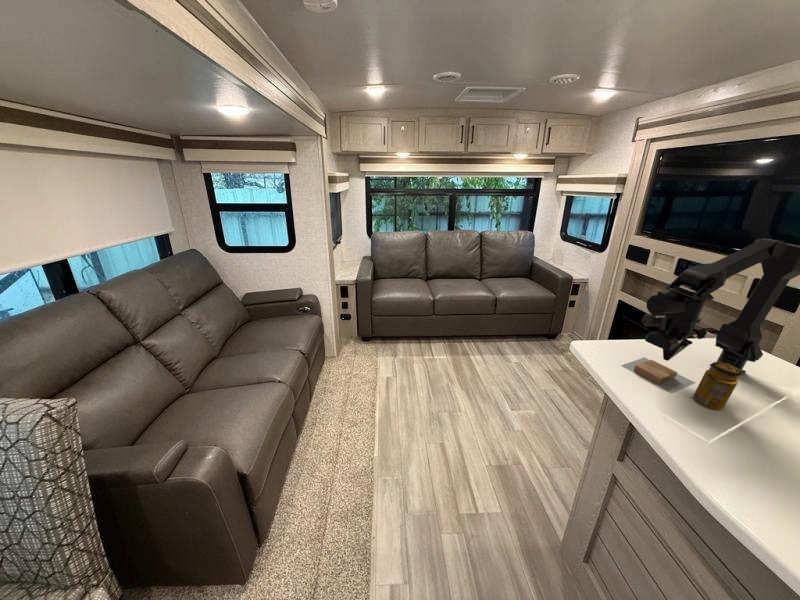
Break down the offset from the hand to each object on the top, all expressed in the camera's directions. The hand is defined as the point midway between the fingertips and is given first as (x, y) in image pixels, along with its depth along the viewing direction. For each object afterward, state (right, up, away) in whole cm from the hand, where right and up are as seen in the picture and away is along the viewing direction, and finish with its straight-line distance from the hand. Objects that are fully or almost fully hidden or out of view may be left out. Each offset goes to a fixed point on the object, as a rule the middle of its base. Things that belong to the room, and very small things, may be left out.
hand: (665, 359), depth 92 cm
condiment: (+2, -10, -10) cm, 14 cm away
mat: (-2, -5, +1) cm, 5 cm away
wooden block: (+1, -3, +2) cm, 4 cm away
